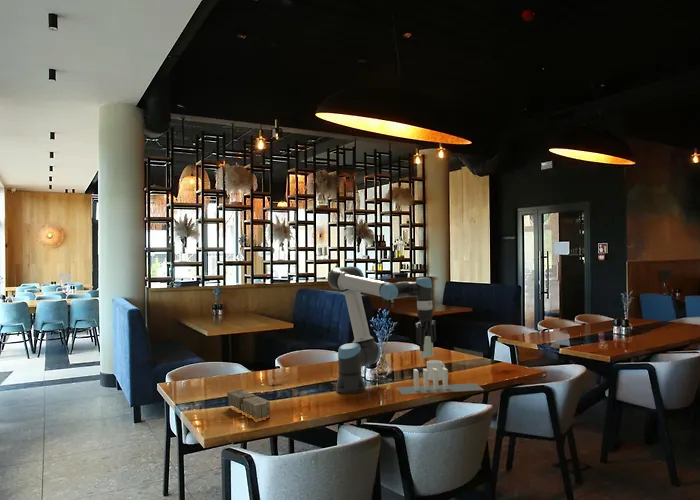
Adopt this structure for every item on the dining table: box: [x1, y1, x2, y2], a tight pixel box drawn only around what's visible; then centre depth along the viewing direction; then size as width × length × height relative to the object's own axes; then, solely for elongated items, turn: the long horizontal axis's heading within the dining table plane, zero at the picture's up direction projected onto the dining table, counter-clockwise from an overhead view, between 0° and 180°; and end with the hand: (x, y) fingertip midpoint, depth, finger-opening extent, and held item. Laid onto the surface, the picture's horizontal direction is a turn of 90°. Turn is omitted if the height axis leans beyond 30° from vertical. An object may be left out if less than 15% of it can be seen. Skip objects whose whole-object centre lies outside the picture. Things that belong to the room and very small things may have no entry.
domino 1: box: [413, 368, 420, 391], centre depth 272 cm, size 2×5×10 cm, turn 5°
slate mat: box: [396, 382, 485, 395], centre depth 273 cm, size 42×14×1 cm, turn 95°
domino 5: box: [441, 367, 449, 390], centre depth 273 cm, size 2×5×10 cm, turn 4°
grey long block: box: [226, 388, 271, 419], centre depth 243 cm, size 8×8×29 cm
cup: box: [426, 359, 446, 382], centre depth 294 cm, size 8×12×10 cm
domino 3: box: [422, 368, 430, 391], centre depth 272 cm, size 2×5×10 cm, turn 5°
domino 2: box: [424, 335, 433, 359], centre depth 262 cm, size 2×5×10 cm, turn 132°
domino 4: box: [432, 368, 439, 390], centre depth 273 cm, size 2×5×10 cm, turn 5°
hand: (427, 356), depth 262 cm, fingers closed on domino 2, 5 cm apart
